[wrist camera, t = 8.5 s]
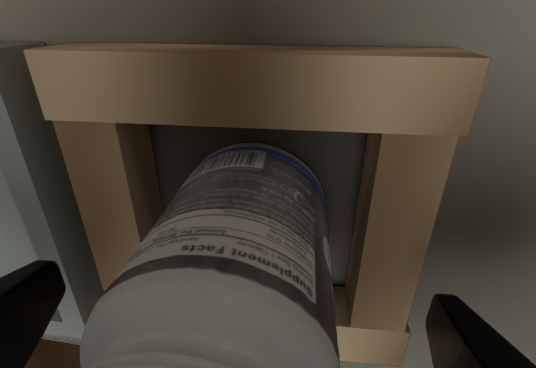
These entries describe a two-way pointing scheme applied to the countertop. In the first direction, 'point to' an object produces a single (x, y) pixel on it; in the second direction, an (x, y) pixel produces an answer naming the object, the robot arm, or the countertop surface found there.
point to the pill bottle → (226, 274)
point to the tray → (40, 196)
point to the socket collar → (271, 117)
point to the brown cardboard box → (55, 355)
